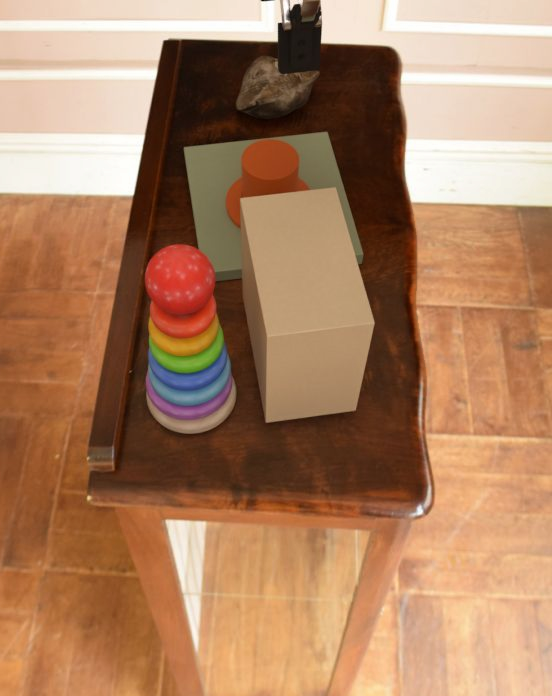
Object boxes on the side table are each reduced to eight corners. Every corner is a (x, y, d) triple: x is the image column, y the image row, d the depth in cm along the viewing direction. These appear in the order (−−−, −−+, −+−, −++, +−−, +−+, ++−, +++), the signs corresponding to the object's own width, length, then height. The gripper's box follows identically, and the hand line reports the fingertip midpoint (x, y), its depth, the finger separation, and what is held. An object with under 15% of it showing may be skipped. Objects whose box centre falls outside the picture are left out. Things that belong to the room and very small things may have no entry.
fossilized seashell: (251, 125, 85) (331, 114, 88) (246, 59, 82) (329, 50, 85) (225, 119, 91) (301, 109, 94) (220, 58, 88) (298, 50, 92)
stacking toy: (228, 443, 67) (219, 313, 51) (138, 431, 68) (101, 298, 52) (243, 367, 71) (239, 225, 55) (158, 356, 72) (130, 212, 56)
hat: (304, 169, 83) (307, 122, 77) (320, 231, 78) (325, 186, 73) (220, 178, 82) (218, 132, 77) (232, 242, 77) (230, 197, 72)
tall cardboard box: (326, 292, 76) (338, 186, 64) (357, 416, 68) (378, 322, 57) (242, 302, 75) (239, 197, 63) (265, 428, 68) (266, 336, 56)
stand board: (326, 141, 87) (327, 131, 86) (362, 263, 78) (363, 254, 76) (184, 157, 86) (183, 146, 85) (203, 283, 76) (202, 273, 75)
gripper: (383, -162, 44) (356, 95, 58) (323, -279, 53) (313, -32, 67) (252, -149, 43) (257, 107, 58) (214, -269, 52) (227, -22, 67)
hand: (287, 32), depth 63 cm, fingers open, 9 cm apart
